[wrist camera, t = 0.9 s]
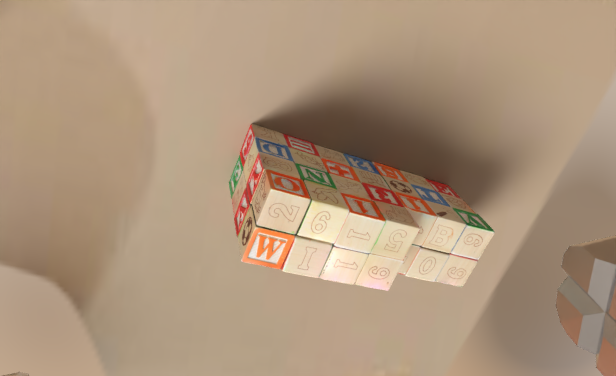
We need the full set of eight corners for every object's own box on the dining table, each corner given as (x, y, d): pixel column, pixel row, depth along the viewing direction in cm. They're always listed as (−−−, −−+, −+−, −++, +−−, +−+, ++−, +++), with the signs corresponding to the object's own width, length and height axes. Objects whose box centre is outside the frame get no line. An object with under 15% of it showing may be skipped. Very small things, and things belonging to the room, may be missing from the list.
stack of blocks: (449, 183, 54) (516, 253, 44) (421, 234, 56) (478, 312, 46) (249, 122, 47) (270, 188, 36) (226, 184, 49) (240, 264, 38)
